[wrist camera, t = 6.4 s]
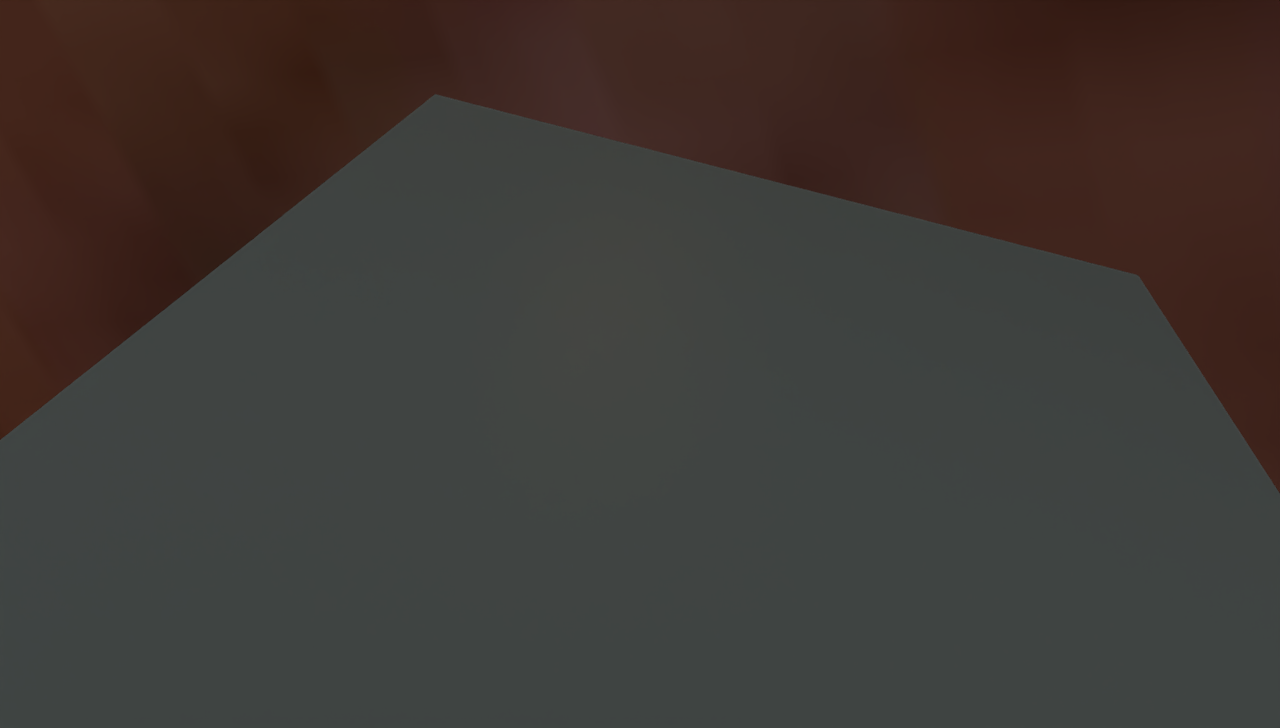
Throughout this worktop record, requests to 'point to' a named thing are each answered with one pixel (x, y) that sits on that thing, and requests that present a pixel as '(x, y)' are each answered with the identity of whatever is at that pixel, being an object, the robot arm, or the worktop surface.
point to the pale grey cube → (634, 471)
